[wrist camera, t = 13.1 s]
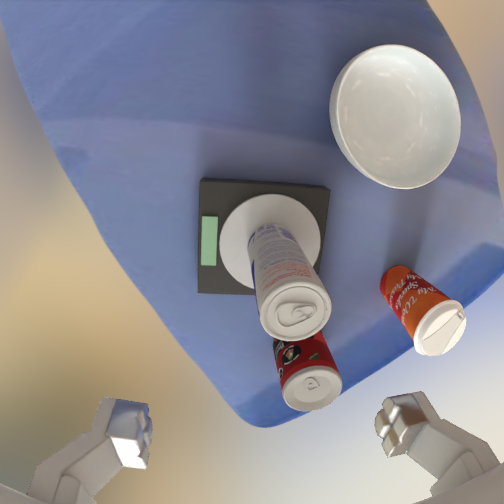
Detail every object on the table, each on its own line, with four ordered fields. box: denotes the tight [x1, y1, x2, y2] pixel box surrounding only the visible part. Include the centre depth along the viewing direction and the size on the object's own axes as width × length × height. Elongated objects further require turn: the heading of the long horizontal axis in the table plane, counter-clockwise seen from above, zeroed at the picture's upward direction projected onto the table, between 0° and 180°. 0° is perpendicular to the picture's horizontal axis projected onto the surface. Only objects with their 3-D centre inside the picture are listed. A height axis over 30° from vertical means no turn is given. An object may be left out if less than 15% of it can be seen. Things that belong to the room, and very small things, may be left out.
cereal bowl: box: [329, 44, 461, 189], centre depth 32 cm, size 17×17×7 cm
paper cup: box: [380, 265, 466, 356], centre depth 38 cm, size 8×8×14 cm
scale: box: [198, 178, 330, 295], centre depth 39 cm, size 14×15×3 cm
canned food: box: [273, 330, 342, 411], centre depth 41 cm, size 8×8×11 cm
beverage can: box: [247, 224, 331, 341], centre depth 30 cm, size 6×6×15 cm
